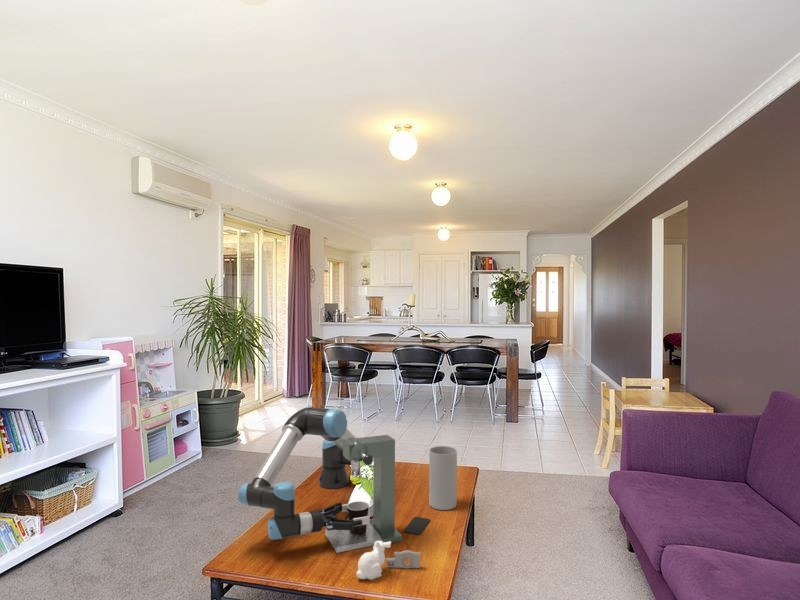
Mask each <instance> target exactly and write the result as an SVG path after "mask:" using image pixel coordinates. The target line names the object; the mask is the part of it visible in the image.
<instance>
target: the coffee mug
mask: <svg viewBox="0 0 800 600" xmlns="http://www.w3.org/2000/svg"><path fill="white" fill-rule="evenodd" d="M347 504H348V505H347V510H348V512H347V514H346V515H345V518H344V519H348V520H353V519H354V518H360V517H365V516H369V509H370V504H369V503H368V502H365V501H359V500H358V501H352V502H349V503H347ZM366 527H367V524H365V525H360V526H355V527H354V530H350V533H351V534H354V535H361V534H364V533H365V532H366Z"/></svg>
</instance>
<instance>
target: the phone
mask: <svg viewBox="0 0 800 600" xmlns="http://www.w3.org/2000/svg"><path fill="white" fill-rule="evenodd" d="M430 522H431V519H430V518H427V517H421V516H414V517H413V518H412V519H411V521H409V523H408V524H407V525H406V526H405V528H404V529H403V533H405V534H407V535H408V534H409V535H415V536H420V535H421V534H422V533H423V532H424V531H425V529H426V528H427V527H428V525H429V524H430ZM425 527H426V528H425Z"/></svg>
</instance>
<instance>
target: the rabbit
mask: <svg viewBox="0 0 800 600" xmlns="http://www.w3.org/2000/svg"><path fill="white" fill-rule="evenodd" d="M391 545H392V543H391V541H390V542H384V543H383V541H376V542H375V543H374V545H373V547H372V548H373V550H372V551H368V552H367V551H366V552H364V553H363V554H362V555H361V556H360V558H359V560H358V562H357V571H356V577H357V578H358V579H360V580H371V581H372V580H375V579H377V578H380V577H382V572H383V569H382V568H381V566H382V565H384V563H385V561H386V557H385V556H386V555H385V550H386V549H385V548H387V549H388V548H391Z"/></svg>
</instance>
